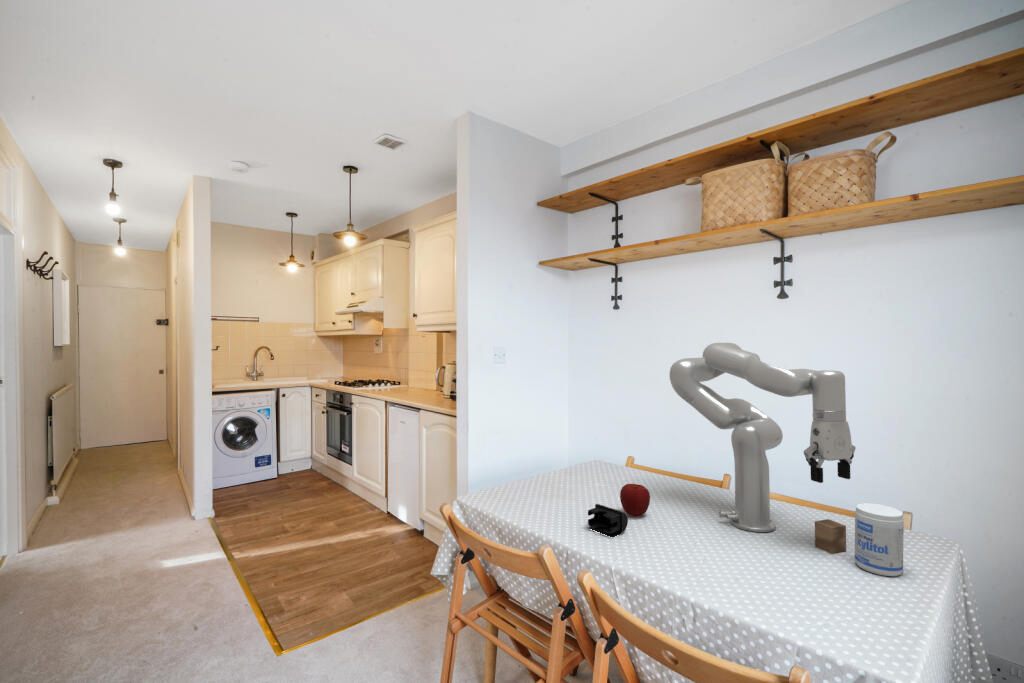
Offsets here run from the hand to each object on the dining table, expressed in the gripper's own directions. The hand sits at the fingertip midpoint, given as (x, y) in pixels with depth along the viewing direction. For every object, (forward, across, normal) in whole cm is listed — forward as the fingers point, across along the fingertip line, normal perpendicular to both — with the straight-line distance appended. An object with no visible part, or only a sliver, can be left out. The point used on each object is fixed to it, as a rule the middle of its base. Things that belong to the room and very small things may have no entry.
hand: (830, 479), depth 129 cm
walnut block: (+19, 0, 0) cm, 19 cm away
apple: (+18, -36, +40) cm, 57 cm away
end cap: (+19, -50, +32) cm, 62 cm away
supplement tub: (+19, +1, -12) cm, 22 cm away
